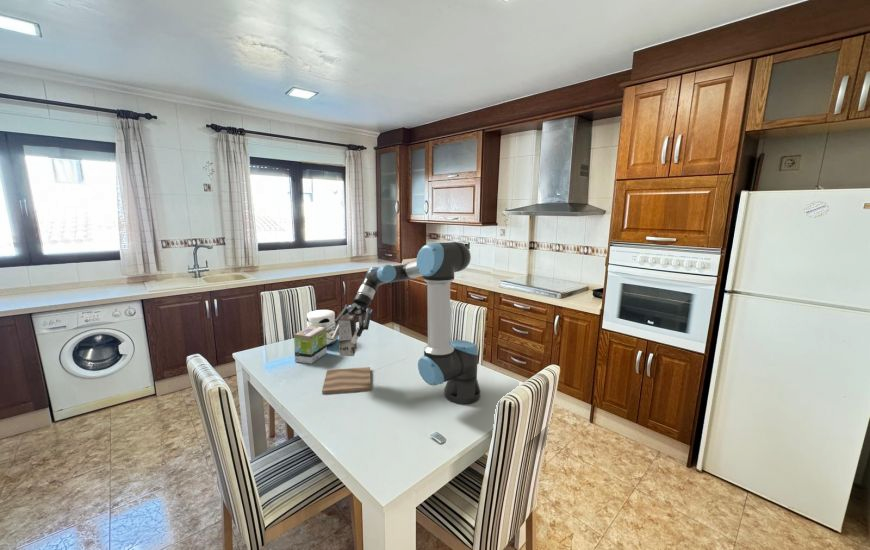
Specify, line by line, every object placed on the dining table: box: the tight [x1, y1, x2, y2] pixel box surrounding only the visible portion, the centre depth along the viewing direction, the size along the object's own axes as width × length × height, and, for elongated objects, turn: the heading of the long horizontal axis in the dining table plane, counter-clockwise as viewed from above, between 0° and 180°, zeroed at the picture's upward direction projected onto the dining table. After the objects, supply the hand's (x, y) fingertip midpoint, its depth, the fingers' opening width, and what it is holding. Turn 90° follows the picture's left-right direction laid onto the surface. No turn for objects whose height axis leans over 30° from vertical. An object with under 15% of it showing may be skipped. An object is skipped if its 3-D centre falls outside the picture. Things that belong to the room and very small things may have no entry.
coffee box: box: [338, 315, 358, 357], centre depth 154 cm, size 9×6×16 cm
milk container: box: [306, 309, 337, 347], centre depth 203 cm, size 17×17×18 cm
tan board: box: [321, 366, 372, 395], centre depth 159 cm, size 20×20×2 cm
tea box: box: [293, 326, 328, 364], centre depth 183 cm, size 15×10×15 cm, turn 168°
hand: (343, 340), depth 151 cm, fingers closed on coffee box, 9 cm apart
